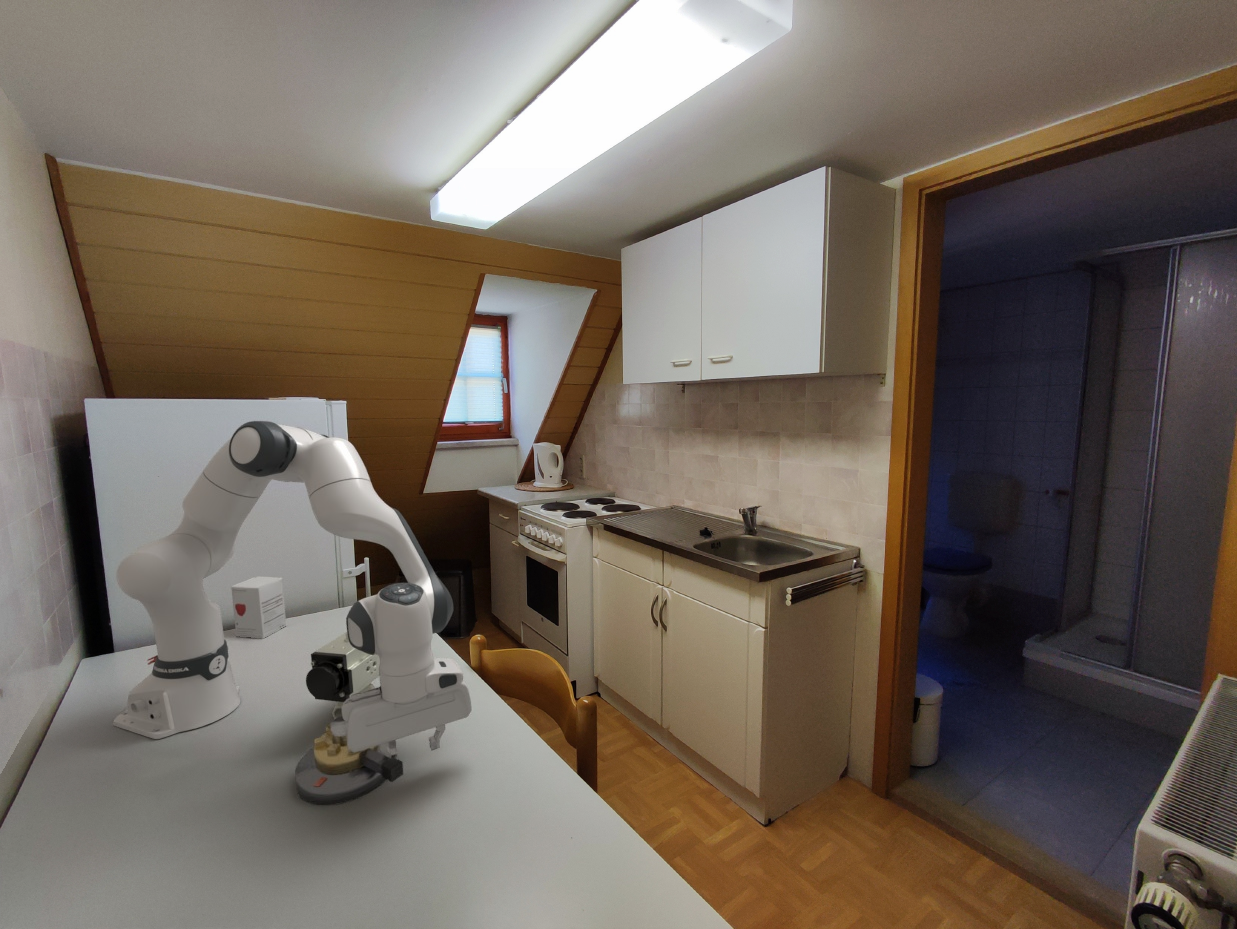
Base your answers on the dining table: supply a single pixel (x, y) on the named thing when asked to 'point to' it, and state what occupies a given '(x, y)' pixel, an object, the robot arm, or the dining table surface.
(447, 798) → the dining table surface
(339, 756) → the lever handle valve
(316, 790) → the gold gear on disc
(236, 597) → the supplement box
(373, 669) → the ball valve
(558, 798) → the dining table surface
